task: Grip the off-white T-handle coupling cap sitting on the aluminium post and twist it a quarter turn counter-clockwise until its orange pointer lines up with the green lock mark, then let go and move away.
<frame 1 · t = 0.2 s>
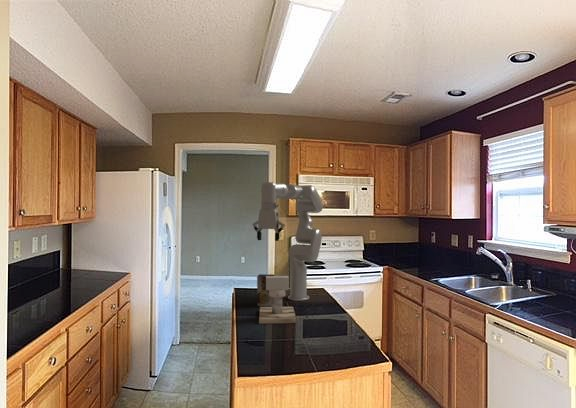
hand: (268, 240, 177), 36 cm above the counter, tool pointing down, fingers open, 9 cm apart
coffee box: (266, 305, 191), on the counter
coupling: (277, 286, 169), point 15 cm above the counter, hinge at 0.0°
post base: (277, 316, 170), on the counter
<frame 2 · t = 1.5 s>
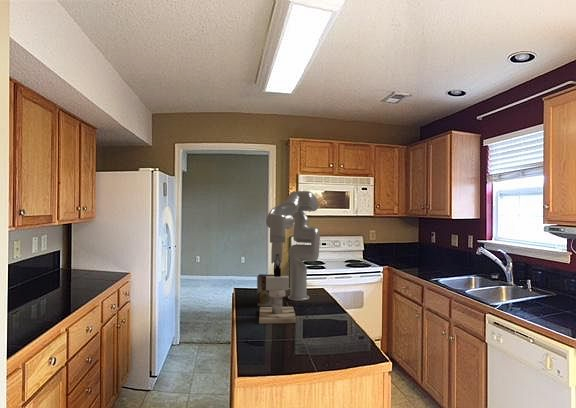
hand: (277, 274, 170), 20 cm above the counter, tool pointing down, fingers open, 9 cm apart
nothing on the counter moved.
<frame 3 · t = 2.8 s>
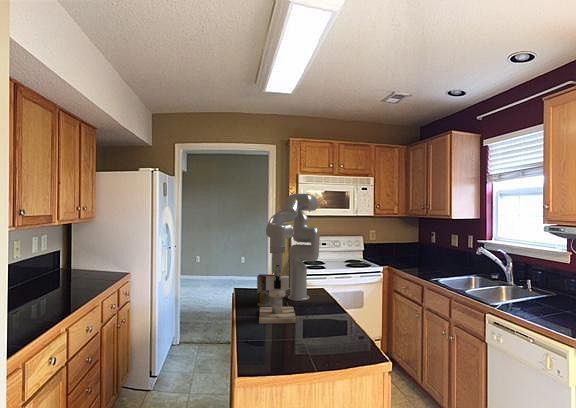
hand: (277, 287, 170), 14 cm above the counter, tool pointing down, fingers closed on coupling, 4 cm apart
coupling: (277, 286, 169), point 15 cm above the counter, hinge at 0.0°, touching gripper
everything else where it was.
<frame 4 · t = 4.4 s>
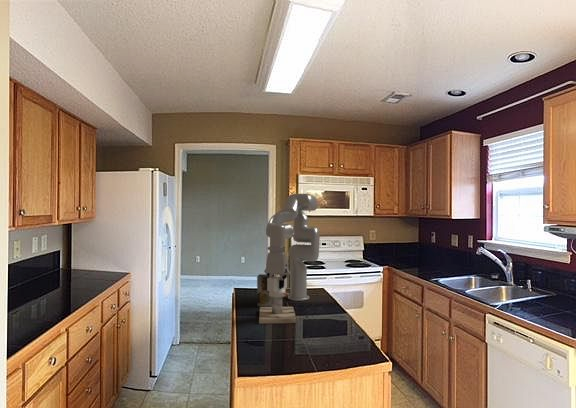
hand: (277, 287, 170), 14 cm above the counter, tool pointing down, fingers closed on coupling, 4 cm apart
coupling: (279, 286, 169), point 15 cm above the counter, hinge at 53.7°, touching gripper
everything else where it was.
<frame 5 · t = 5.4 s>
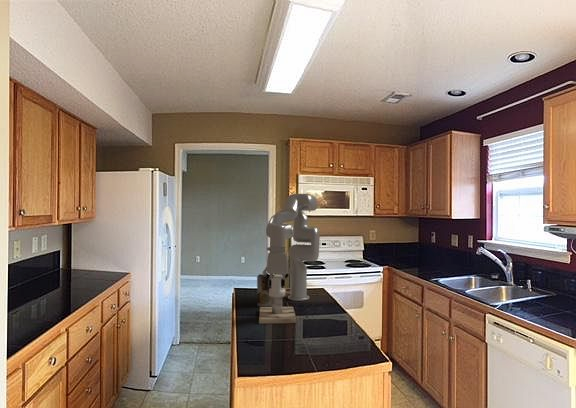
hand: (277, 287, 170), 14 cm above the counter, tool pointing down, fingers closed on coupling, 4 cm apart
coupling: (279, 286, 170), point 15 cm above the counter, hinge at 80.0°, touching gripper
everything else where it was.
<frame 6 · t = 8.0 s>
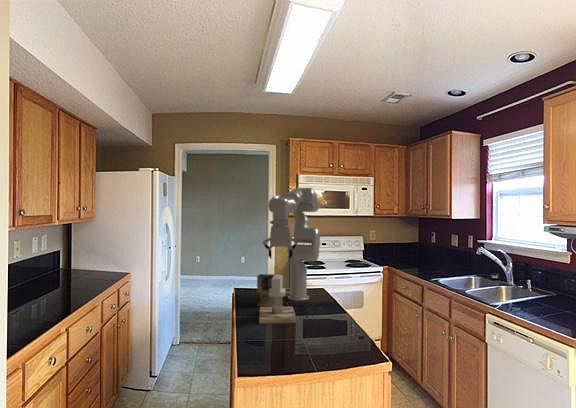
hand: (280, 258, 171), 28 cm above the counter, tool pointing down, fingers open, 9 cm apart
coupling: (279, 286, 170), point 15 cm above the counter, hinge at 81.2°
everything else where it was.
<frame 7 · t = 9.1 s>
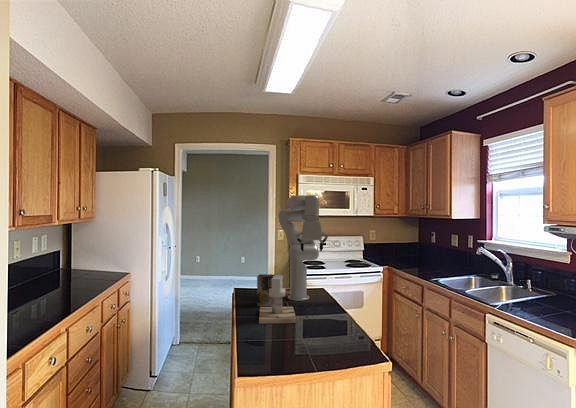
hand: (311, 251, 184), 30 cm above the counter, tool pointing down, fingers open, 9 cm apart
nothing on the counter moved.
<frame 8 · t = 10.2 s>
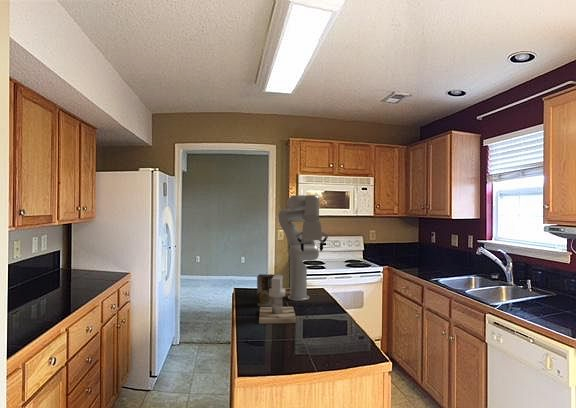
hand: (311, 251, 184), 30 cm above the counter, tool pointing down, fingers open, 9 cm apart
nothing on the counter moved.
at the end: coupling at +81° (first picture: +0°); the gripper is holding nothing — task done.
